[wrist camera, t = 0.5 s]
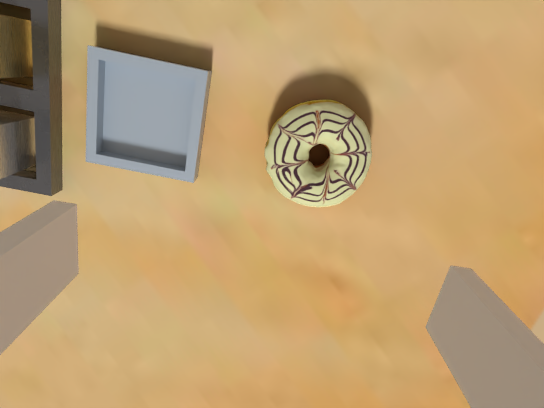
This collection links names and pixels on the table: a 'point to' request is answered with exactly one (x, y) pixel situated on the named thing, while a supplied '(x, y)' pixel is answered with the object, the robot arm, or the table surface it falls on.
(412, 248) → the table surface
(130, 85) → the parts tray
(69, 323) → the table surface
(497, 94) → the table surface
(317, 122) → the decorated donut
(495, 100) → the table surface
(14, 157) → the grey knobbed block
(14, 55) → the gold block with knob
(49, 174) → the rail
